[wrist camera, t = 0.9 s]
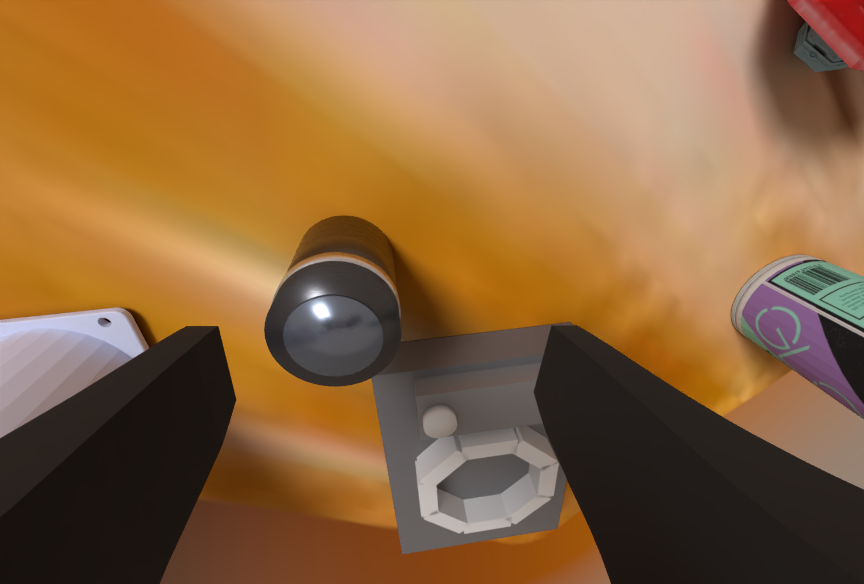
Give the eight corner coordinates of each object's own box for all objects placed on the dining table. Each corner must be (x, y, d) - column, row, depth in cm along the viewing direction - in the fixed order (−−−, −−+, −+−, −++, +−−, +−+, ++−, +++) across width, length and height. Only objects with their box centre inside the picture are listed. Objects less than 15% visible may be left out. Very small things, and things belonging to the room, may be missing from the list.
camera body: (400, 519, 28) (403, 584, 25) (371, 345, 20) (370, 404, 17) (544, 496, 29) (568, 556, 25) (570, 322, 21) (610, 372, 18)
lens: (308, 307, 19) (281, 397, 13) (286, 219, 17) (243, 286, 11) (399, 297, 19) (408, 381, 14) (389, 209, 17) (395, 270, 12)
